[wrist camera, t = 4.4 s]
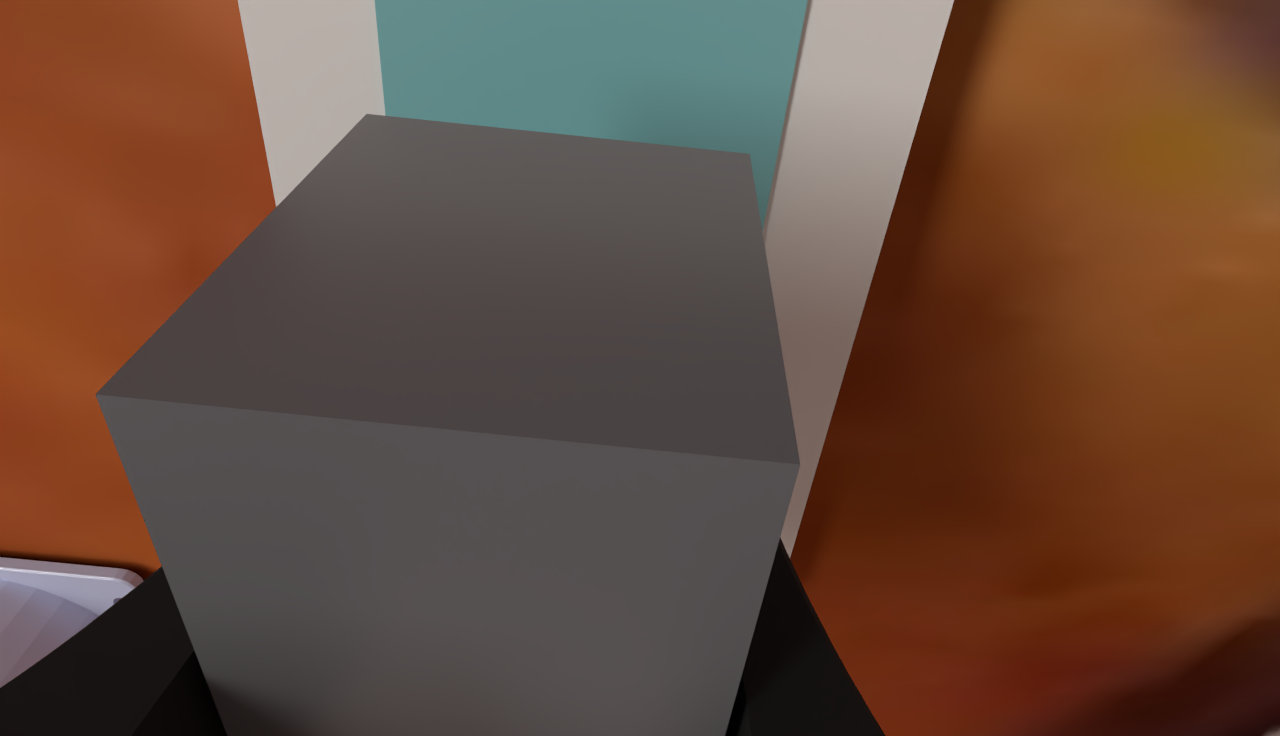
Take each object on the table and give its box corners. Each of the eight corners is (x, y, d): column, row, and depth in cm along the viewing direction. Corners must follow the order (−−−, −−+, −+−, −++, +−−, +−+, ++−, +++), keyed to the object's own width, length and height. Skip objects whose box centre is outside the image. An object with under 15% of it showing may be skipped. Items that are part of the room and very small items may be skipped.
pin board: (766, 570, 20) (784, 747, 17) (366, 532, 20) (294, 702, 16) (980, -213, 11) (1132, -210, 7) (237, -295, 11) (2, -335, 7)
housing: (665, 634, 14) (655, 984, 10) (421, 611, 14) (311, 952, 10) (749, 153, 9) (800, 464, 5) (367, 113, 9) (95, 395, 5)
